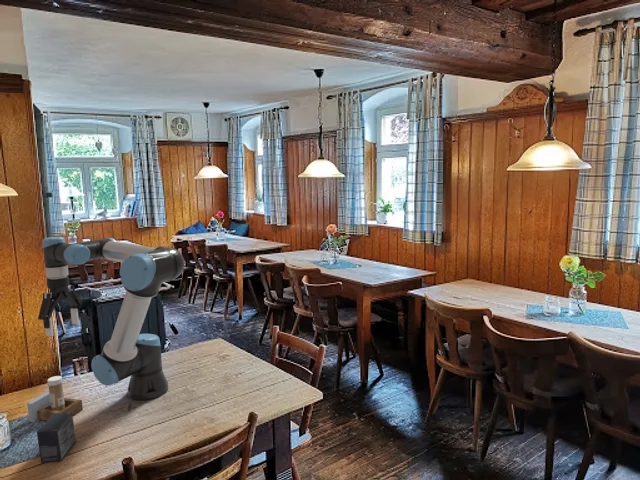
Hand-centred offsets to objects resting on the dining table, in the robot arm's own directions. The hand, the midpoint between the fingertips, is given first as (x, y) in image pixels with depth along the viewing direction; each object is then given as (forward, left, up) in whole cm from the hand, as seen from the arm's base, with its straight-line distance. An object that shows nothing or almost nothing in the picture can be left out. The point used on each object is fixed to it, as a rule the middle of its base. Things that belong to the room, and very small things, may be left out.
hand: (63, 329), depth 181 cm
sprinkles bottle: (-10, +16, -25) cm, 32 cm away
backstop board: (-4, +16, -26) cm, 31 cm away
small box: (-28, +35, -26) cm, 52 cm away
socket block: (-11, +16, -26) cm, 33 cm away
